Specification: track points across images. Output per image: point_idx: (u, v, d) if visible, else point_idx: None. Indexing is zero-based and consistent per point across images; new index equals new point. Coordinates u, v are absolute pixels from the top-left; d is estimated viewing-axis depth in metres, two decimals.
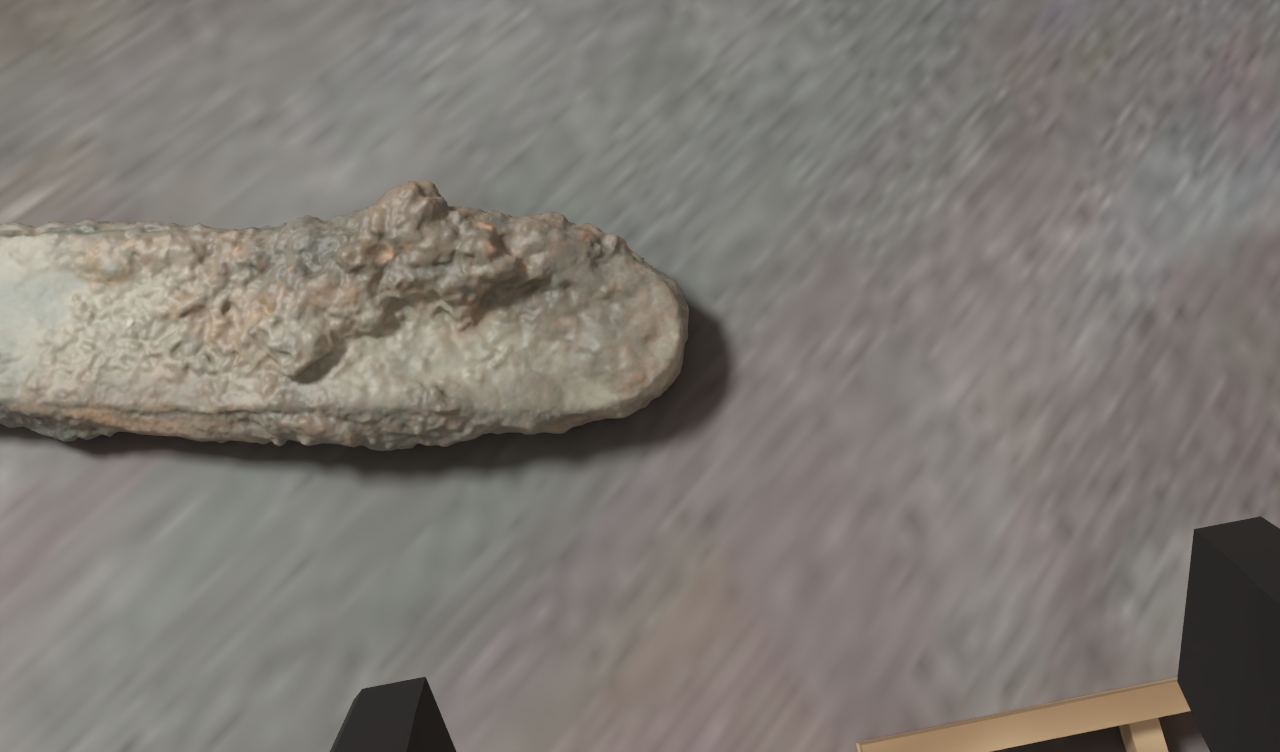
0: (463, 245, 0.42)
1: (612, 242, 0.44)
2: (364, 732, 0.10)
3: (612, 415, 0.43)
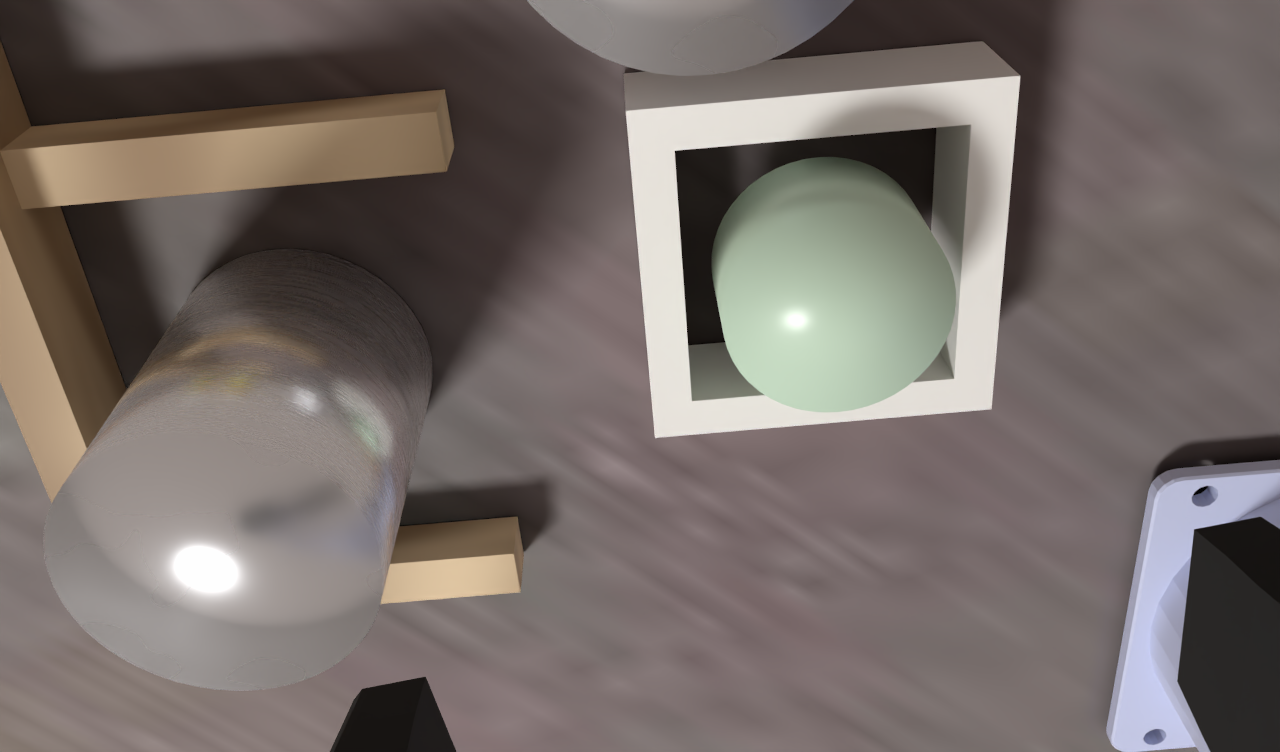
0: None
1: None
2: (364, 732, 0.10)
3: None
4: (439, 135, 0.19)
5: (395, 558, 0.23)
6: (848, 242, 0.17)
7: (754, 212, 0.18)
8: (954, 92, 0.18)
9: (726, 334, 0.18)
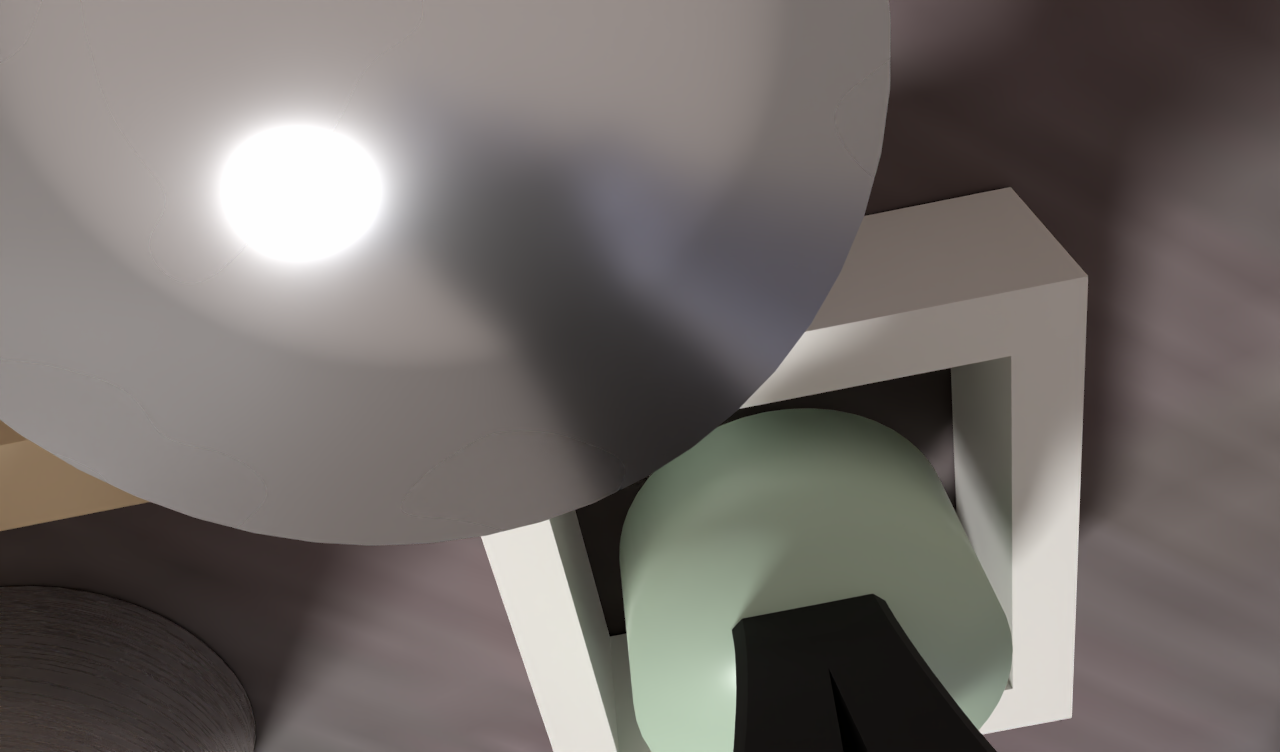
0: None
1: None
2: (771, 654, 0.10)
3: None
4: None
5: None
6: (826, 591, 0.10)
7: (669, 531, 0.11)
8: (979, 313, 0.11)
9: (645, 731, 0.11)
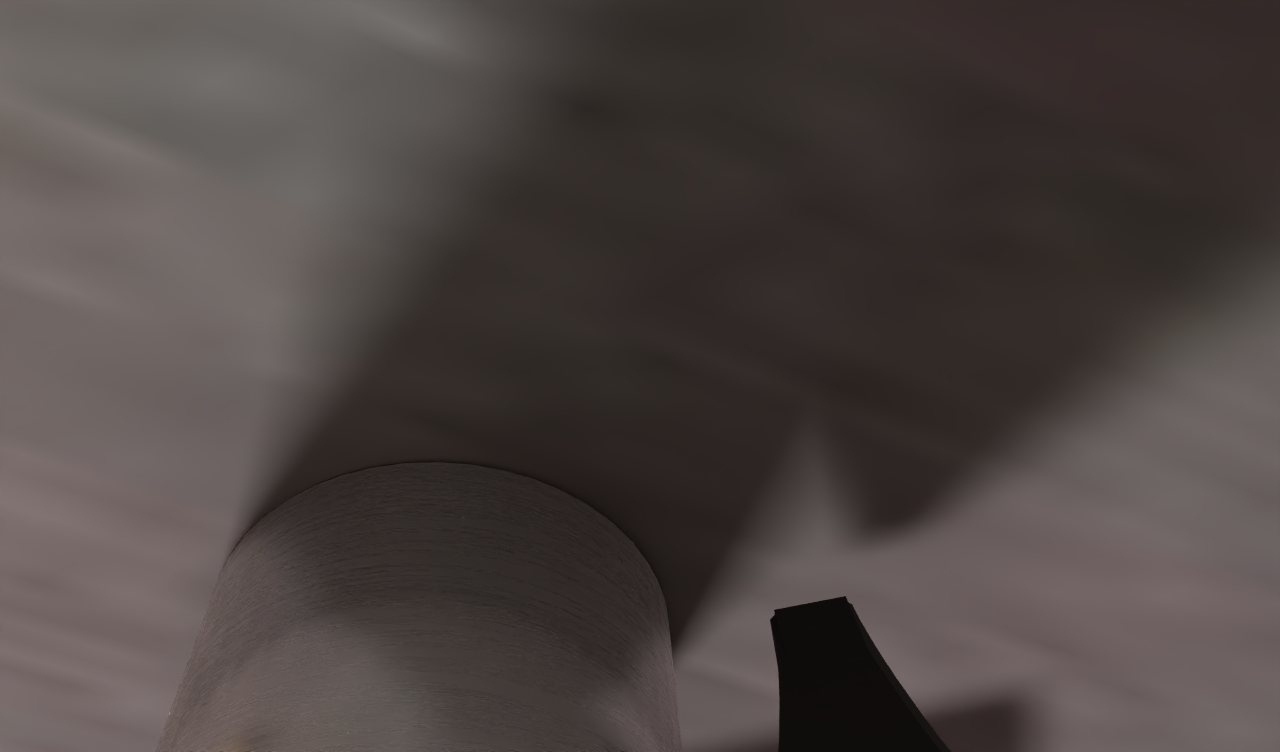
0: None
1: None
2: (813, 646, 0.10)
3: None
4: None
5: None
6: None
7: None
8: None
9: None
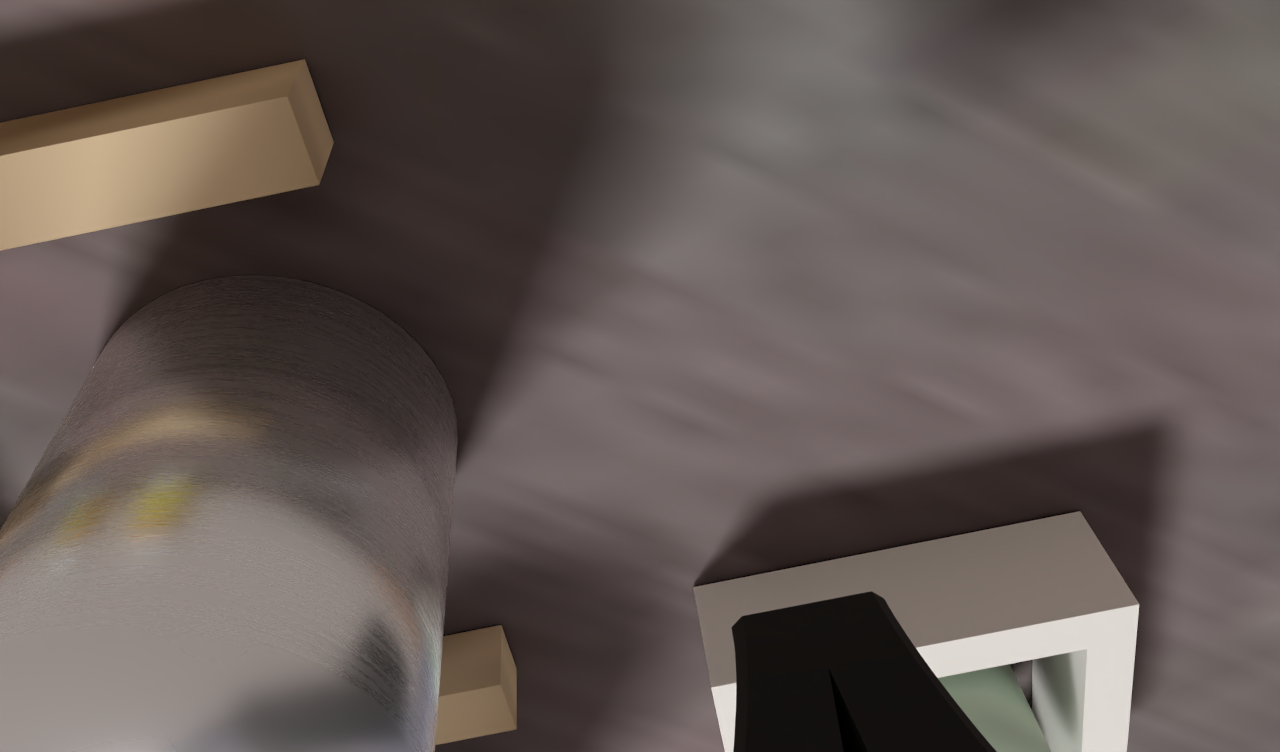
0: None
1: None
2: (772, 654, 0.10)
3: None
4: (506, 702, 0.17)
5: None
6: None
7: None
8: (1068, 626, 0.16)
9: None
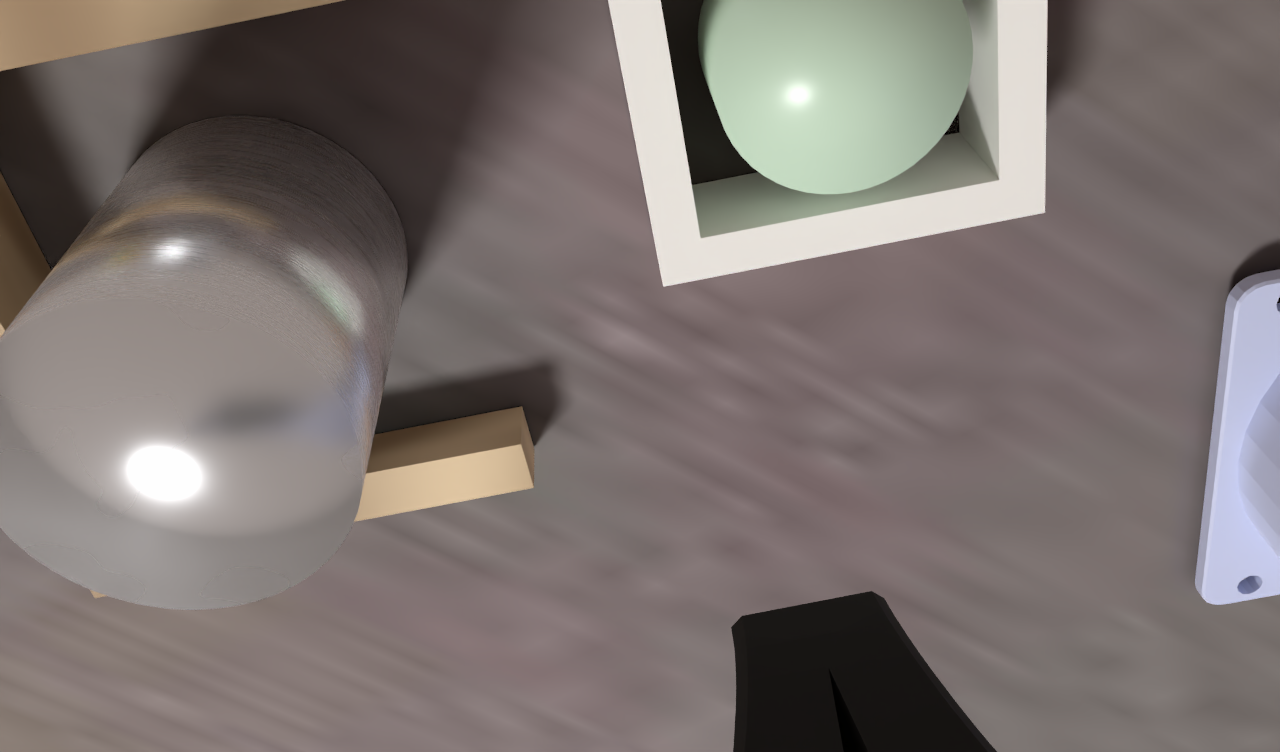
0: None
1: None
2: (771, 654, 0.10)
3: None
4: None
5: (391, 463, 0.21)
6: None
7: None
8: None
9: (721, 111, 0.16)
